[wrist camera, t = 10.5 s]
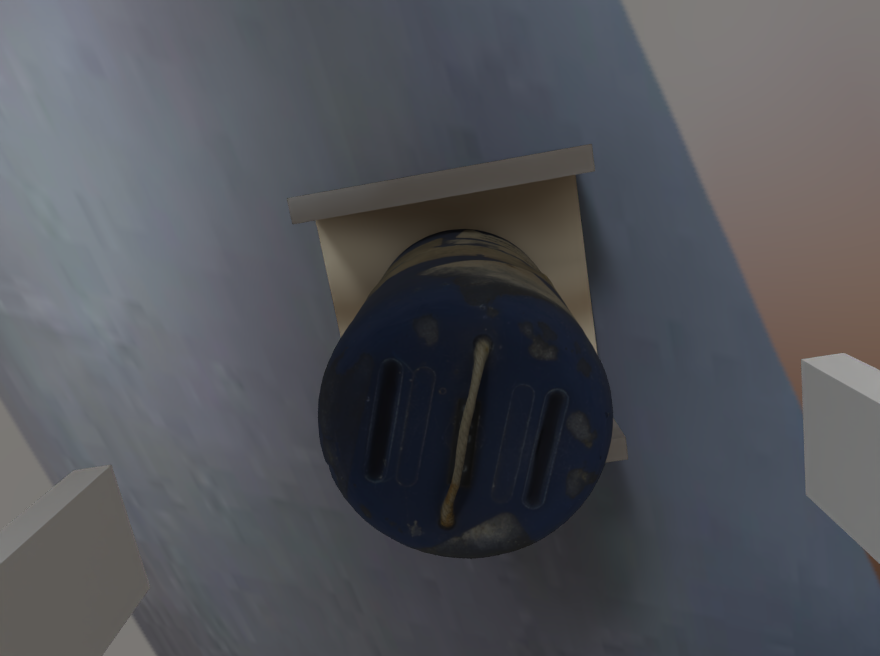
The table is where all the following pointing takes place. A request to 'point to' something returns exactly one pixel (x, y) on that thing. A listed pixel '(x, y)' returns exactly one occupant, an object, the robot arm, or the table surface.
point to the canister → (465, 401)
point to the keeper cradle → (460, 227)
